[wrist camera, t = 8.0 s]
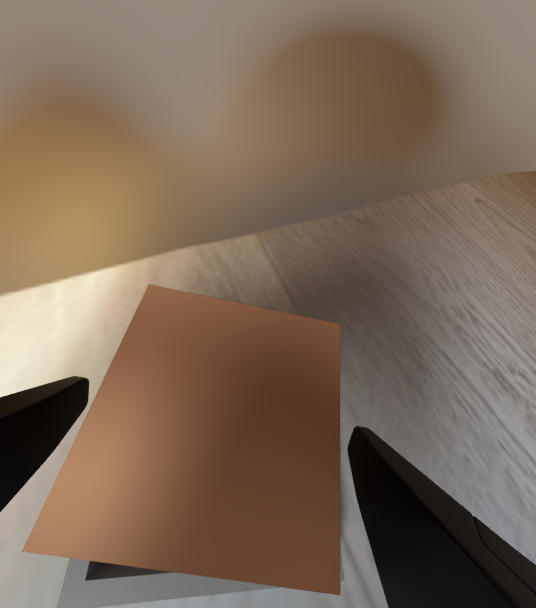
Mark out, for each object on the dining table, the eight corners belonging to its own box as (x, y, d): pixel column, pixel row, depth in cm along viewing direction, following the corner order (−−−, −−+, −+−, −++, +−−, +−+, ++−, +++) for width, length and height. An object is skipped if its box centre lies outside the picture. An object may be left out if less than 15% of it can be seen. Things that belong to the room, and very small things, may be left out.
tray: (327, 562, 14) (344, 580, 12) (81, 586, 12) (55, 611, 10) (305, 348, 20) (314, 337, 18) (139, 343, 18) (130, 330, 16)
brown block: (254, 493, 14) (340, 595, 4) (167, 479, 14) (23, 551, 4) (266, 402, 17) (339, 323, 7) (193, 389, 16) (148, 284, 6)
